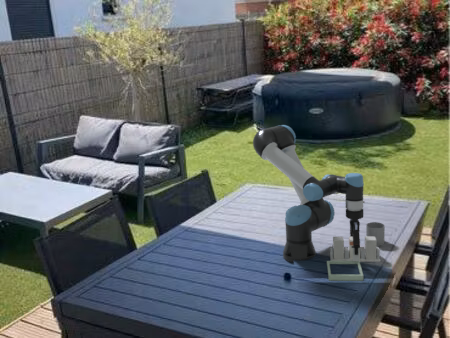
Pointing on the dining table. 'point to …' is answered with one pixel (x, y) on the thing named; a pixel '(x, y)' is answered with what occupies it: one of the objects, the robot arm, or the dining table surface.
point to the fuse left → (338, 247)
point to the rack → (362, 255)
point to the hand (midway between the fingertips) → (354, 256)
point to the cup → (376, 231)
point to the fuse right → (370, 247)
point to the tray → (344, 276)
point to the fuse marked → (351, 248)
